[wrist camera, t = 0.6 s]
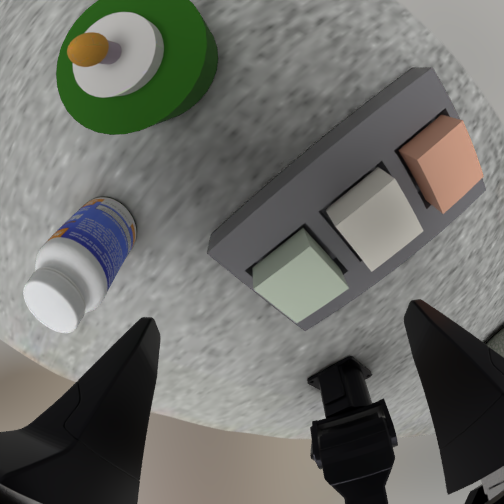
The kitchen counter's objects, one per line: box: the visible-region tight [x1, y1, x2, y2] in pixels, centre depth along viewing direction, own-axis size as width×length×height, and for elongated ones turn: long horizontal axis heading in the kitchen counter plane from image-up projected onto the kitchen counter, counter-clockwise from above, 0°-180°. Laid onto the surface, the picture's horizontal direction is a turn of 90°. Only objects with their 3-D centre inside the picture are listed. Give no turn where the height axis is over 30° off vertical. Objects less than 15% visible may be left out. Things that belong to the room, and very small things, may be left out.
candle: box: [56, 0, 218, 135], centre depth 10 cm, size 8×8×10 cm
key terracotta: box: [398, 115, 484, 214], centre depth 15 cm, size 5×5×2 cm
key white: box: [326, 167, 423, 272], centre depth 17 cm, size 5×5×2 cm
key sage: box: [252, 228, 349, 323], centre depth 19 cm, size 5×5×2 cm
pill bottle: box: [23, 197, 136, 333], centre depth 16 cm, size 5×5×10 cm
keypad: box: [207, 68, 486, 331], centre depth 19 cm, size 11×20×3 cm, turn 133°
